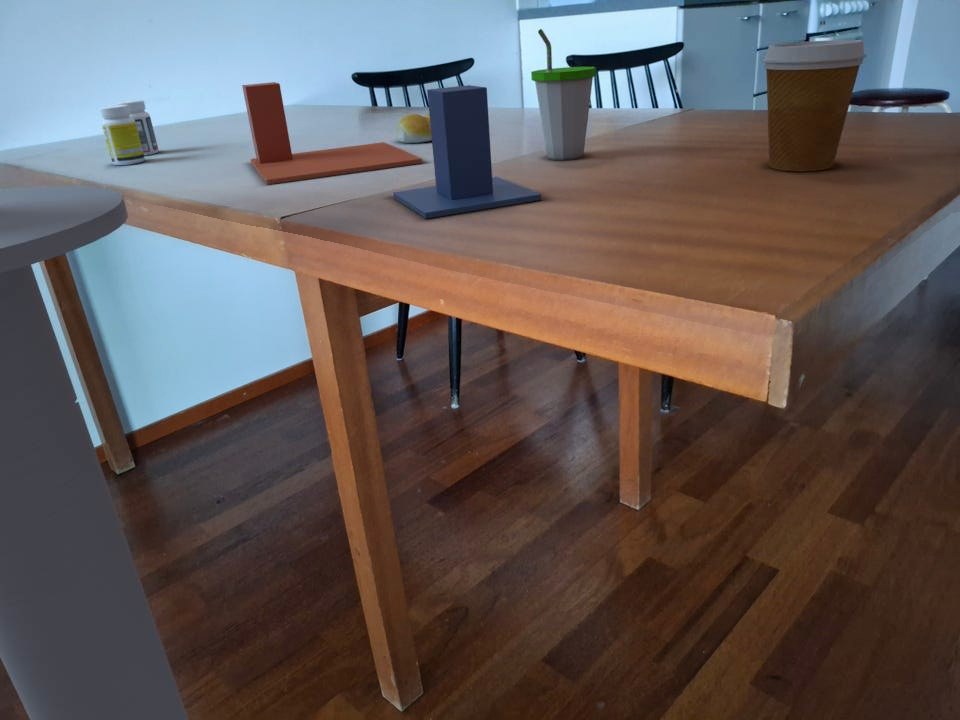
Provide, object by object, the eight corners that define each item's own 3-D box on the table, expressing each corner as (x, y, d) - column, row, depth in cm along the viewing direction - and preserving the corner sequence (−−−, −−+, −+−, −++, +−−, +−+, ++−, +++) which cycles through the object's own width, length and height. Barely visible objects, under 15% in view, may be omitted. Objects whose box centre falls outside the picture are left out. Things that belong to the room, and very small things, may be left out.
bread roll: (462, 138, 113) (460, 111, 111) (407, 145, 109) (404, 118, 108) (442, 133, 120) (440, 107, 118) (390, 139, 116) (387, 113, 115)
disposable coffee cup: (734, 167, 79) (743, 47, 74) (792, 154, 83) (805, 40, 78) (810, 178, 71) (826, 46, 66) (870, 164, 75) (890, 38, 70)
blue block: (451, 200, 71) (442, 92, 67) (436, 192, 75) (426, 89, 70) (493, 193, 72) (486, 87, 68) (476, 186, 76) (469, 85, 72)
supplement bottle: (152, 160, 114) (137, 104, 111) (128, 165, 110) (112, 108, 107) (130, 159, 116) (115, 104, 113) (106, 165, 112) (90, 108, 109)
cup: (581, 149, 96) (580, 25, 89) (606, 157, 89) (607, 23, 83) (526, 156, 94) (520, 29, 88) (546, 165, 87) (542, 29, 81)
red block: (260, 163, 100) (245, 86, 95) (256, 159, 103) (242, 85, 99) (292, 159, 101) (279, 83, 97) (288, 155, 105) (275, 82, 101)
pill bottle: (147, 151, 125) (134, 99, 121) (165, 151, 122) (152, 99, 119) (123, 156, 121) (108, 103, 117) (140, 156, 119) (126, 103, 115)
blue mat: (425, 219, 67) (425, 212, 67) (393, 197, 76) (392, 192, 76) (541, 200, 71) (541, 193, 71) (497, 182, 80) (497, 176, 80)
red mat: (267, 184, 88) (266, 179, 88) (251, 163, 105) (250, 159, 104) (422, 163, 95) (421, 158, 94) (384, 146, 111) (384, 142, 111)
